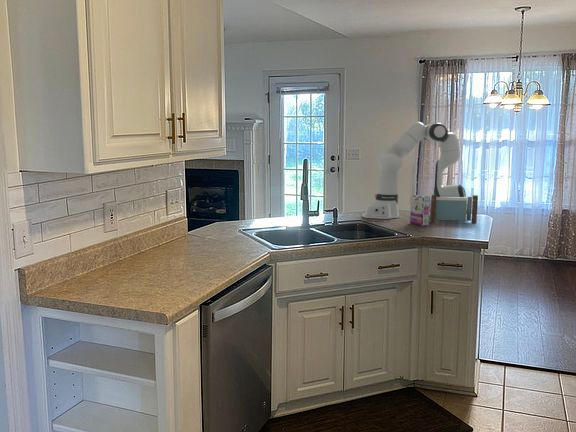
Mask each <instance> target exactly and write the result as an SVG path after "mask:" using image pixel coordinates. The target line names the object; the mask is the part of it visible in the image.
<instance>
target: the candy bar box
mask: <svg viewBox="0 0 576 432" xmlns="http://www.w3.org/2000/svg"><path fill="white" fill-rule="evenodd" d="M430 203H431V196H427V195H420V194H411V195H410V215H409V216H410V217H409V218H410V219H409V221H410V222H409V223H410V224H411V225H417V226H420V227H426V226H429V224H430Z"/></svg>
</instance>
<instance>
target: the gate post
mask: <svg viewBox="0 0 576 432" xmlns="http://www.w3.org/2000/svg"><path fill="white" fill-rule="evenodd" d="M478 200H479V195H477V194H472V207H471V224H474V225H475V224H478V223H477V219H478V206H479V205H478V202H479V201H478Z"/></svg>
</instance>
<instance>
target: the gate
mask: <svg viewBox="0 0 576 432" xmlns="http://www.w3.org/2000/svg"><path fill="white" fill-rule="evenodd" d="M472 202H473V196H467V197H436V218H435V221H436V220H437V221H439V220H440V221H441V220H442V221H469V222H470V221H472ZM431 203H432V196H430V205H429V221H431ZM466 209H467V215H466Z"/></svg>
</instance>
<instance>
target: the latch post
mask: <svg viewBox="0 0 576 432" xmlns="http://www.w3.org/2000/svg"><path fill="white" fill-rule="evenodd" d="M431 197H432V203H431V202H430V203H431V220H430V223H431V224H436V220H435V218H436V195H434V194H431Z"/></svg>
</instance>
